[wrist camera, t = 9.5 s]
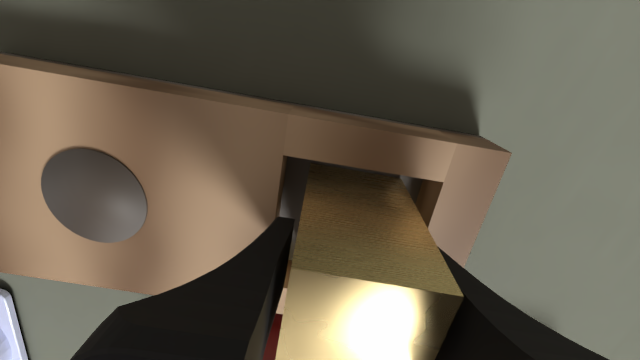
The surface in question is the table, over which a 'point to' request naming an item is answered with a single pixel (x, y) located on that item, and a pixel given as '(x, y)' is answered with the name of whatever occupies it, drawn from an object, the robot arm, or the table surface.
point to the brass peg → (364, 274)
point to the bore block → (196, 174)
